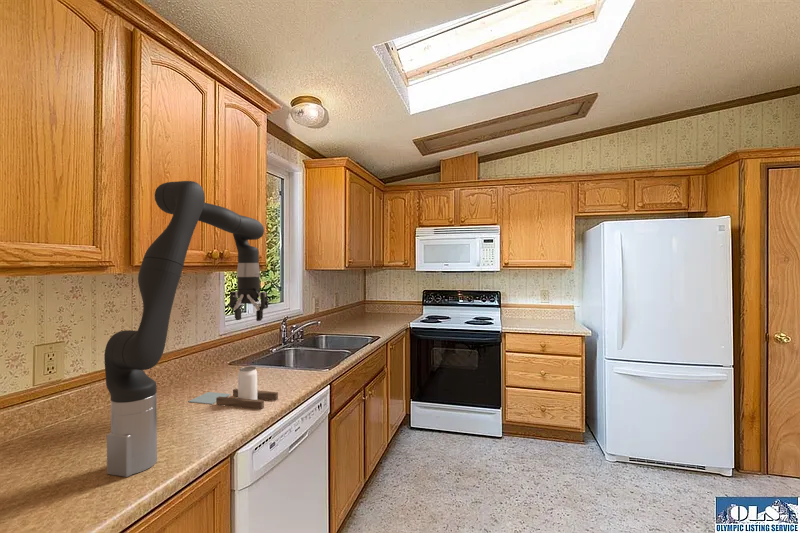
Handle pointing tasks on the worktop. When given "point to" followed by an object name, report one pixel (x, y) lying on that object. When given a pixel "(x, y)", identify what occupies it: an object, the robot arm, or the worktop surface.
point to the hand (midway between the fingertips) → (248, 320)
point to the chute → (247, 400)
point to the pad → (208, 398)
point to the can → (247, 383)
